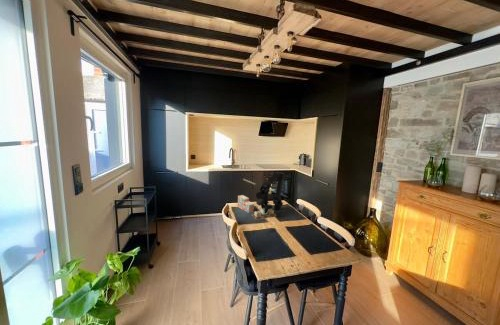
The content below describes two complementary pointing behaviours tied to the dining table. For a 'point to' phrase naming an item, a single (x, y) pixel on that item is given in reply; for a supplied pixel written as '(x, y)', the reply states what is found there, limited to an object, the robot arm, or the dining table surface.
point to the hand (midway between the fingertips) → (264, 212)
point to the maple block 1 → (257, 213)
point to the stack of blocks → (245, 204)
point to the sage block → (263, 211)
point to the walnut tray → (264, 216)
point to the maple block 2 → (270, 211)
